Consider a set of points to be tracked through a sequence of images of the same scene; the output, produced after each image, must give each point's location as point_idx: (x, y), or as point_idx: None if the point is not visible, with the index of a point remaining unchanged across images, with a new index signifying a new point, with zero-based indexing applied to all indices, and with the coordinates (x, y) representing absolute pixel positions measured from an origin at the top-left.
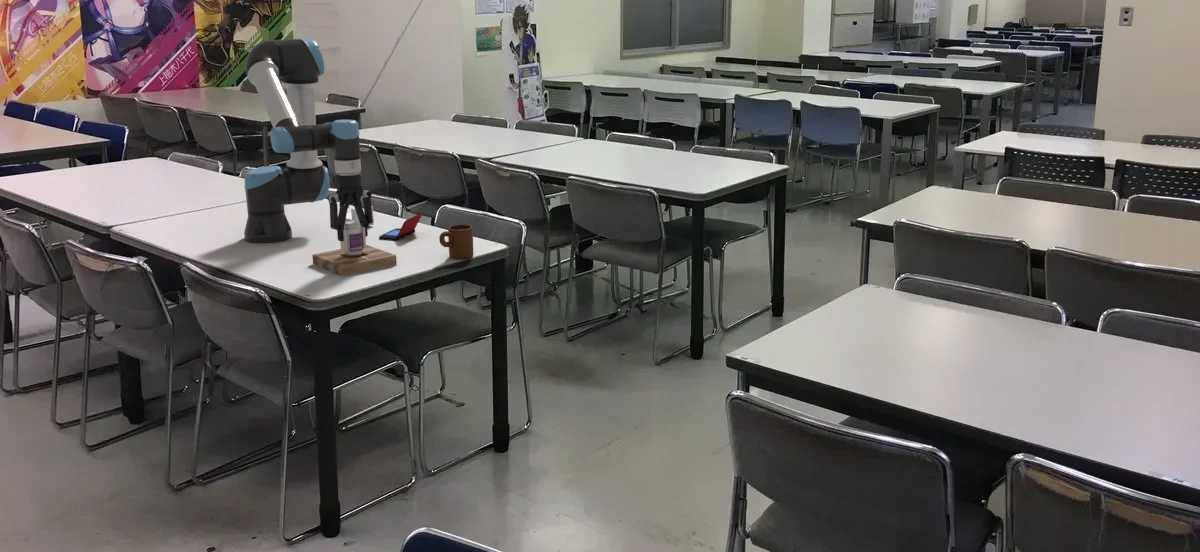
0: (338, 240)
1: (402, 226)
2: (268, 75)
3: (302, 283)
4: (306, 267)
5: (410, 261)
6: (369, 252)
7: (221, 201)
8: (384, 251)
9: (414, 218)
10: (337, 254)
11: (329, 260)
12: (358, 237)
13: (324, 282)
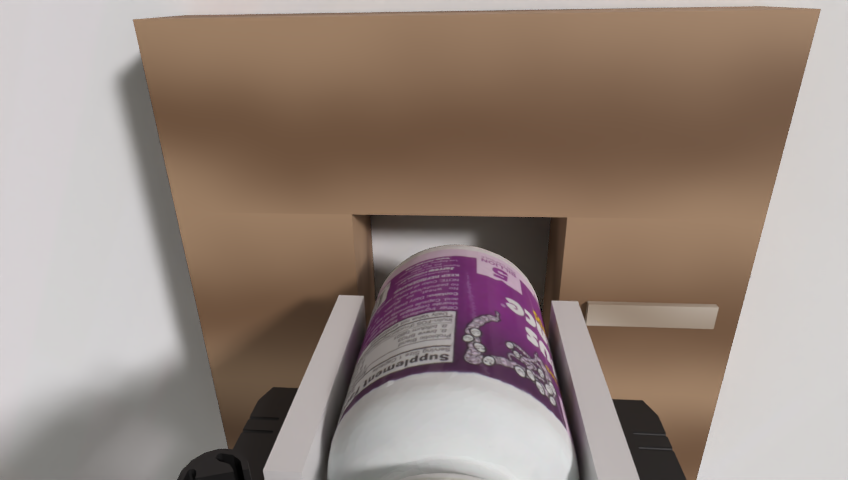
0: (272, 388)
1: None
2: None
3: (10, 396)
4: (108, 79)
5: (788, 450)
6: (602, 331)
7: None
8: (713, 386)
9: None
10: (344, 200)
11: (210, 319)
12: None
13: (129, 455)
